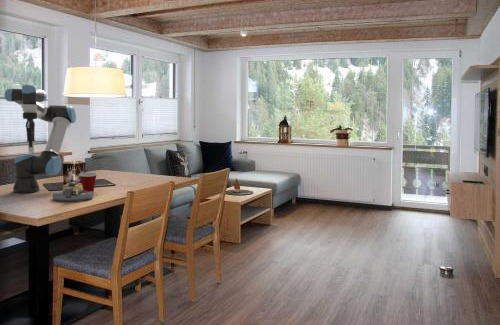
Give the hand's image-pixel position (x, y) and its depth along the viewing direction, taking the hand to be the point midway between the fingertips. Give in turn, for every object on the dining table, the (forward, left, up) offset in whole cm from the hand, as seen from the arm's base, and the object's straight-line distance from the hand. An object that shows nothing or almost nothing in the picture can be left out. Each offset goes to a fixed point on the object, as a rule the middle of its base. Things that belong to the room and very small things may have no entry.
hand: (31, 152), depth 272 cm
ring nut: (+10, +23, -23) cm, 34 cm away
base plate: (+7, +23, -26) cm, 36 cm away
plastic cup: (-12, +30, -27) cm, 42 cm away
